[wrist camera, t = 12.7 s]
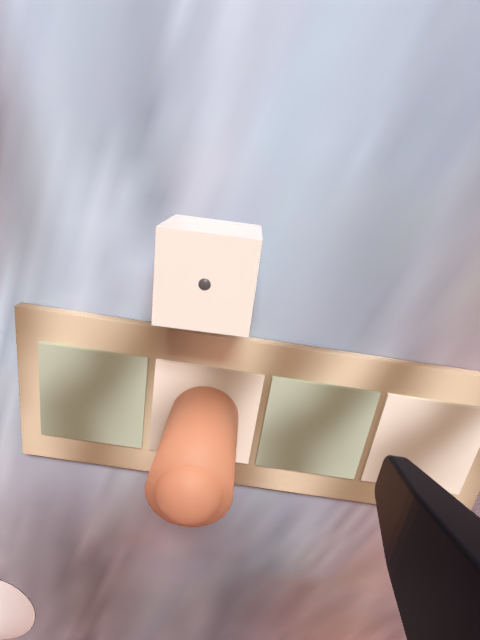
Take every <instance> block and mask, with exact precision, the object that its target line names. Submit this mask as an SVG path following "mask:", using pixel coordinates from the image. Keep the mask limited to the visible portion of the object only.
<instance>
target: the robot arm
mask: <svg viewBox="0 0 480 640" xmlns="http://www.w3.org/2000/svg"><path fill="white" fill-rule="evenodd" d="M375 500H376V506H377V512H378V518H379V524H380V529H381V535H382V541H383V547H384V553H385V558H386V563H387V568H388V572H389V576H390V580H391V583H392V587H393V591H394V594H395V598H396V601H397V605H398V608H399V612H400V616H401V619H402V623H403V626H404V630H405V634H406V637H407V640H480V517H478V516H477V515H476V514H475V513H473V512H472V511H471V510H470V509H469V508H467V507H466V506H465V505H464V504H462V503H461V502H460V501H459V500H458V499H456V498H455V497H454V496H453V495H451V494H450V493H449V492H448V491H447V490H445V489H444V488H443V487H442V486H440V485H439V484H438V483H437V482H436V481H434V480H433V479H432V478H431V477H430V476H428V475H427V474H426V473H425V472H423V471H422V470H421V469H420V468H419V467H417V466H416V465H415V464H414V463H412V462H411V461H410V460H409V459H407V458H406V457H401V456H394V455H388V456H386V457H385V458H384V460H383V463H382V466H381V469H380V472H379V475H378V478H377V481H376V484H375Z"/></svg>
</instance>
